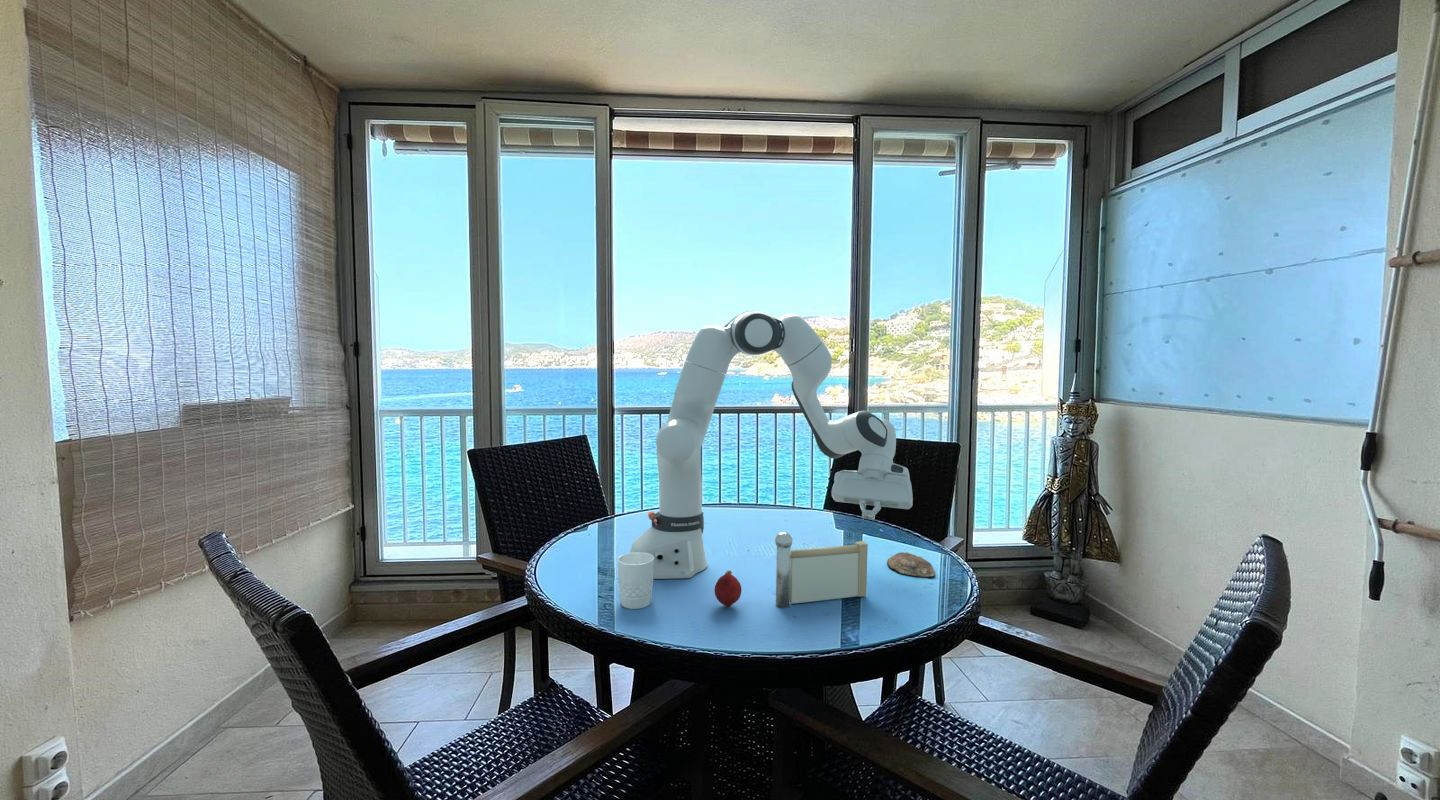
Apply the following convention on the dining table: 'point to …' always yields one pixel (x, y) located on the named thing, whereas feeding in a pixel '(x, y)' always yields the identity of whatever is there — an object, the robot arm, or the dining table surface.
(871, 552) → the dining table surface
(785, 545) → the gate post
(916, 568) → the shell
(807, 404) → the robot arm
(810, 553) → the gate leaf
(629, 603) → the white cup
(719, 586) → the onion
